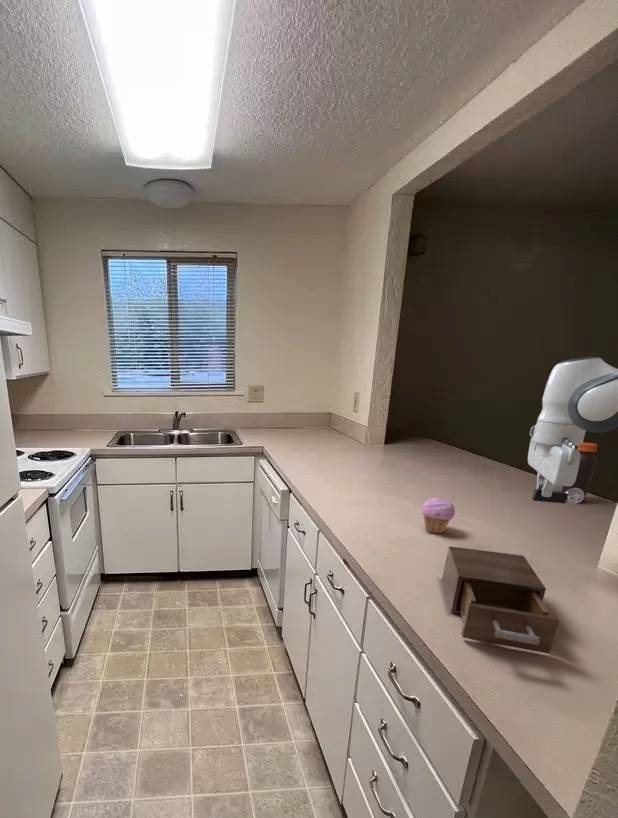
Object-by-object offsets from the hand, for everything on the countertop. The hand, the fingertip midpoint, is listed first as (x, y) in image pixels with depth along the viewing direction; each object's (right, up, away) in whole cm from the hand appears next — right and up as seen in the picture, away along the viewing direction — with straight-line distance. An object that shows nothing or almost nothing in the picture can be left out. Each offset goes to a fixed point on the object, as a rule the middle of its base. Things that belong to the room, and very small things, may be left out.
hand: (543, 493), depth 101 cm
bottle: (+49, -1, +51) cm, 71 cm away
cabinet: (-19, -23, -8) cm, 31 cm away
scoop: (+2, -2, 0) cm, 3 cm away
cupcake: (-11, -10, +28) cm, 32 cm away
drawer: (-23, -26, -19) cm, 40 cm away
